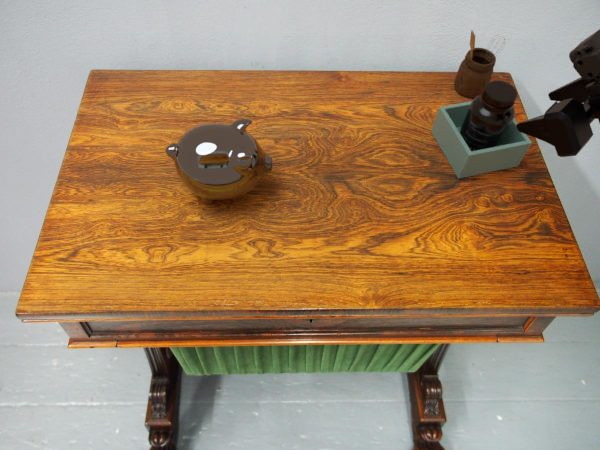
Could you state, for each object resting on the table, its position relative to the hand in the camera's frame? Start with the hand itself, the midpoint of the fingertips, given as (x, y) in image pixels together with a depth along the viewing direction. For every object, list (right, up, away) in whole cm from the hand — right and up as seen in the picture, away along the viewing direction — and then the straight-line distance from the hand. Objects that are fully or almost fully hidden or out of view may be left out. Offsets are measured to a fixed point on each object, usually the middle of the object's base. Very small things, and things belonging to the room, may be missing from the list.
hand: (533, 111), depth 71 cm
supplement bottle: (-4, -3, +12) cm, 13 cm away
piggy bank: (-45, -11, +6) cm, 47 cm away
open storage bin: (-4, -3, +12) cm, 13 cm away
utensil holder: (-2, +9, +21) cm, 23 cm away
